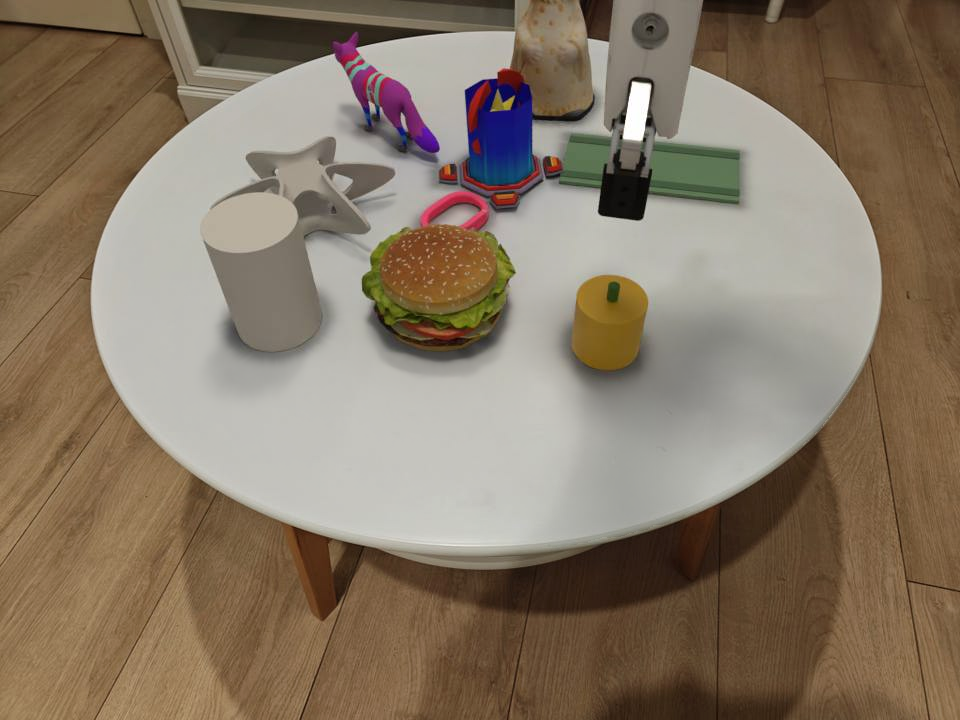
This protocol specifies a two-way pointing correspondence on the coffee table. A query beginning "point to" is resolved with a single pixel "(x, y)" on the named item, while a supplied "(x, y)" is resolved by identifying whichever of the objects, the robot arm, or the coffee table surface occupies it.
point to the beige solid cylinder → (263, 270)
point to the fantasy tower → (500, 141)
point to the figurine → (554, 59)
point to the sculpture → (316, 185)
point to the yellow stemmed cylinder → (609, 322)
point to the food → (438, 285)
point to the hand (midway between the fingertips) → (626, 175)
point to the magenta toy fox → (383, 97)
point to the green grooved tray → (660, 168)
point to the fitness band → (455, 198)
